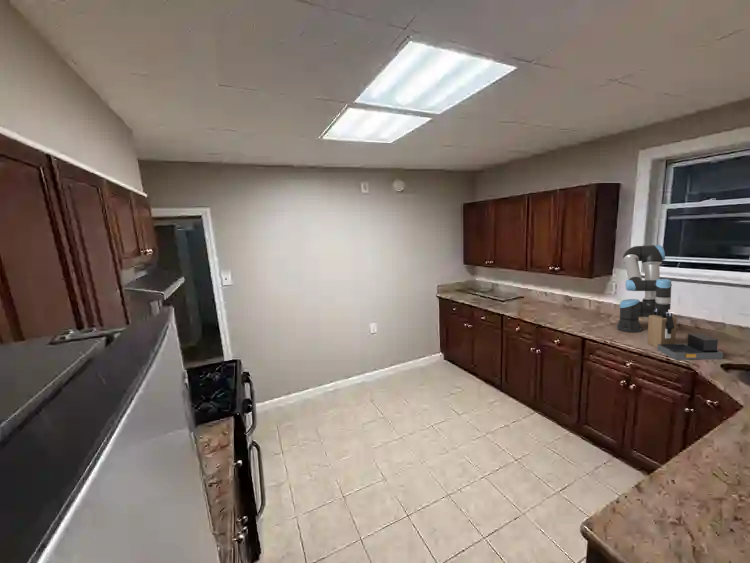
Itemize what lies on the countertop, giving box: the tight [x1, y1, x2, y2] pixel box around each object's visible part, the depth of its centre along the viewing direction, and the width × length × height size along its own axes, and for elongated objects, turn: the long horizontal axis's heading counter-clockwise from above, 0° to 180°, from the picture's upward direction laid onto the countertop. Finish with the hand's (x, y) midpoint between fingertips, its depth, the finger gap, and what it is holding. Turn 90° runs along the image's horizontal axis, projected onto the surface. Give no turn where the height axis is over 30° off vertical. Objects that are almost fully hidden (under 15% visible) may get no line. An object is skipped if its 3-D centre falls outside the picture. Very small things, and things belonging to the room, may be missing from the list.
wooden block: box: [647, 315, 677, 348], centre depth 216 cm, size 10×10×20 cm
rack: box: [657, 333, 724, 361], centre depth 199 cm, size 17×24×11 cm
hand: (661, 335), depth 216 cm, fingers open, 11 cm apart
